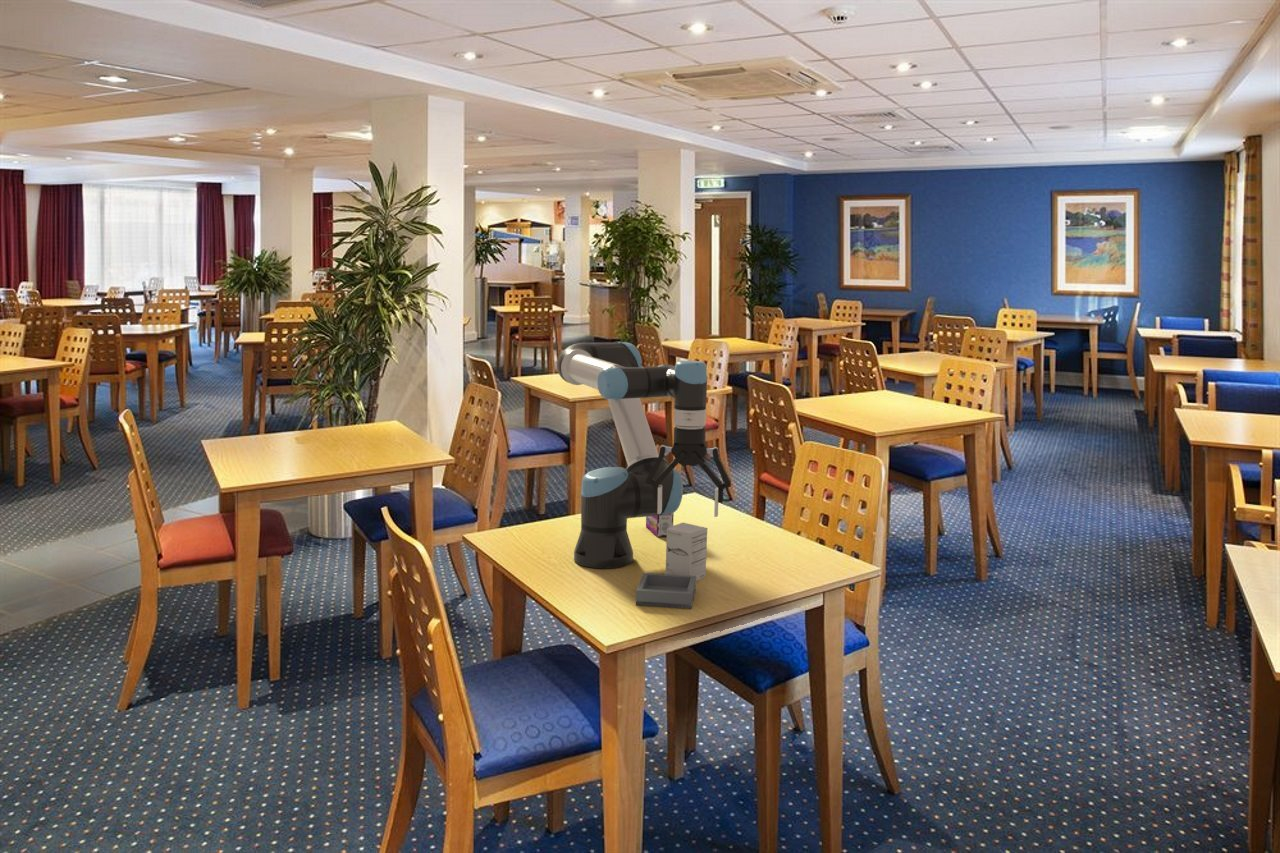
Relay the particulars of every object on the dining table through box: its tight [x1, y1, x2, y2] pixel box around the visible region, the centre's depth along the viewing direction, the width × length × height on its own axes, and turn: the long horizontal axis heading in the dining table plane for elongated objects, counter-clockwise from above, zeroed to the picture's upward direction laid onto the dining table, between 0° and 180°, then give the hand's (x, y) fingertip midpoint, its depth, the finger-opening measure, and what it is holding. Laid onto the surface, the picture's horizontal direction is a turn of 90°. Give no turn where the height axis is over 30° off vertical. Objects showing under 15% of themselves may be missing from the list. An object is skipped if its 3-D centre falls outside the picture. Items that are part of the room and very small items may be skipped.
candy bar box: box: [645, 512, 675, 538], centre depth 266 cm, size 11×5×16 cm, turn 17°
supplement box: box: [664, 522, 708, 582], centre depth 227 cm, size 7×7×13 cm
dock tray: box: [635, 572, 697, 610], centre depth 214 cm, size 12×12×4 cm
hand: (687, 514), depth 225 cm, fingers open, 13 cm apart
